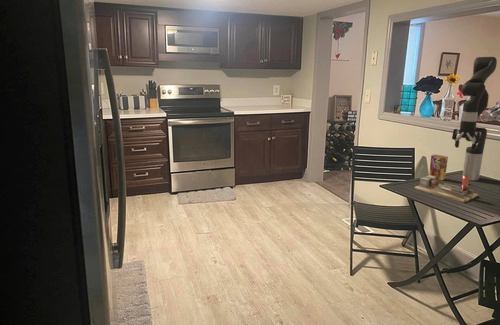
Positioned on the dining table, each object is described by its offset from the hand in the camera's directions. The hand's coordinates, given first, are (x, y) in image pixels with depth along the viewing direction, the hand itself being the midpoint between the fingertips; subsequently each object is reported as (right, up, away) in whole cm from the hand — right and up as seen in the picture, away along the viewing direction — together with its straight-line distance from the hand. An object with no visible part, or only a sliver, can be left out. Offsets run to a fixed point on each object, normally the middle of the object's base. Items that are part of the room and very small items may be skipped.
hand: (464, 148), depth 197 cm
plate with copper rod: (-3, -25, 0) cm, 26 cm away
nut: (-11, -22, +12) cm, 28 cm away
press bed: (-7, -25, +7) cm, 27 cm away
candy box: (+1, -18, +32) cm, 37 cm away
